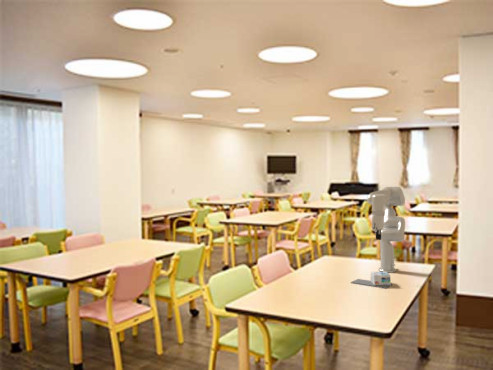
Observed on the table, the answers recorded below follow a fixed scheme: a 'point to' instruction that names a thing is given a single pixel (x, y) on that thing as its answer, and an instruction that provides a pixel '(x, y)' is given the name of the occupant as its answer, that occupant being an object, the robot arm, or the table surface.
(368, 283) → the mat
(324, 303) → the table surface
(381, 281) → the light bulb box
